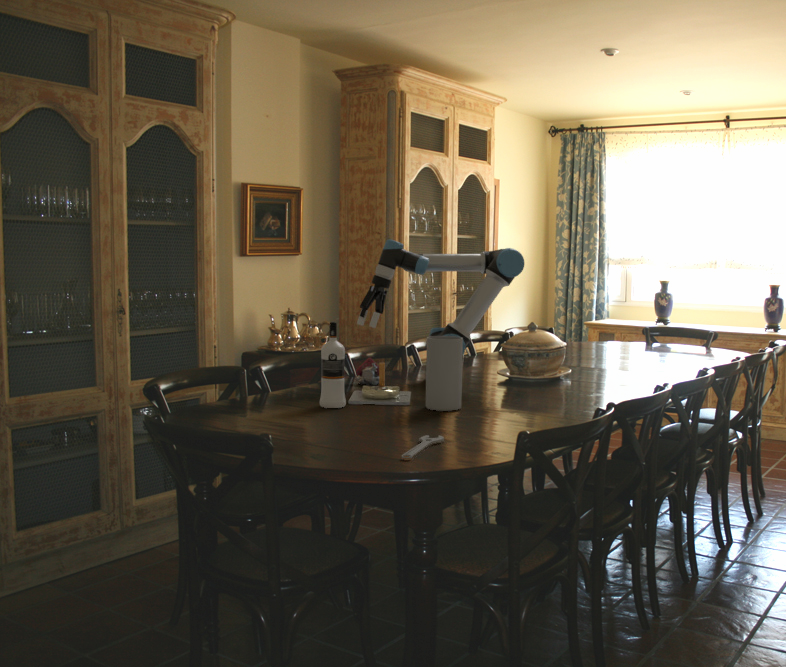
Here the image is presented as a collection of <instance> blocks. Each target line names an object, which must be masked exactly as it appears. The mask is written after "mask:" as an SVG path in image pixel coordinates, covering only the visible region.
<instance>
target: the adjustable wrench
mask: <svg viewBox="0 0 786 667" xmlns="http://www.w3.org/2000/svg"><path fill="white" fill-rule="evenodd" d="M419 441H422V442H421V443H420V442H419ZM441 441H444V442H445V437H444V436H443V435H438V436H437V437H430V435H427V434H426V435H422V436H421V437H419V438H418V442H419V444H417V445H415V446H414V447H412V448H411V449H409V450H408V451H406V452H404V453H403V454H401V459H402V458H412V457H413V456H414V455H416V454H417V453H418V452H420V451H421V450H423V449H424V448H425V447H427V446H428V445H430V444H432V443H436V442H441ZM404 456H409V457H404Z"/></svg>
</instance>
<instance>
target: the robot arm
mask: <svg viewBox="0 0 786 667" xmlns="http://www.w3.org/2000/svg"><path fill="white" fill-rule="evenodd" d="M397 268H400V269H403V270H404V271H405V272H411V273H414V274H416V275H420V276H424V274H426V272H480V273H481V274H482V275H483V274H485V276H484V277H483V280H482V281H481V282H480V283H479V285H478V286H477V288H476V289H475V291H474V292H473V294H472V295H471V296H470V297H469V299H468V301H467V302H466V303H465V305H464V306H463V308H462V309H461V311H460V312H459V314H458V315H457V317H456V318H455V319H454V320H453V322H449V323H447V324H446V326H445V327H432V328H431V329H430V332H429V337H430V336H454V337H461V338H463V350H462V357H463V355H465V352H466V347H467V346H468V344H469V343H470V342H471V340H472V339H471V333H472V332H473V331H474V330H475V328H476V327H477V325H478V324H479V322H480V321H481V319H482V318H483V316H484V315H485V314H486V312H487V311H488V310H489V308H490V306H491V305H492V304H493V303H494V301H495V300H496V299H497V297H498V295H499V294H500V293H501V291H502V290H503V289H504V287H508V286H511V283H512V282H513V280H515V278H516V277H518V276H519V275H520V274H521V273H522V272H523V270H524V268H525V258H524V256H523V254H522V253H521V252H520V251H519V250H518V249H515V248H511V247H506V248H500V249H494V250H488V251H487V250H486V251H481V252H480V253H415V252H412V251H409V250H406V249H404V244H403V243H401V242H400V241H396V240H394V239H386V241H385V243H384V246H383V248H382V251H381V253H380V257H379V260H378V263H377V266H376V267H375V271H374V273H375V274H373V277H372V279H371V284H373V285H370V287H369V289H368V291H367V293H366V294H365V296H364V298H363V300H362V301H361V303H360V305H359V308H360V313H359V315H358V319H357V322H356V324H357V325H358V326H362V327H363V326H364V324H365V322H366V319H367V316H368V313H369V308H370V307H371V306H372V305H373V303H374V302H375V306H374V308H375V311H373V313H372V316H371V319H370V323H369V325H368V327H370V328H373V329H376V327H377V324H378V321H379V319H380V316H381V315H383V314H384V311H385V304H386V296H387V293H388V290H386V289H389V288H390V286H391V283H392V279H393V278H394V275H395V272H396V269H397ZM424 380H425V381H426V374H425V379H424Z"/></svg>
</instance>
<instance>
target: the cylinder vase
mask: <svg viewBox="0 0 786 667" xmlns="http://www.w3.org/2000/svg"><path fill="white" fill-rule="evenodd" d="M462 350H463V338H461V337H454V336H430V335H429V336H427V337H426V359H425V360H426V361H425V362H426V365H425V366H426V368H425V375H426V380H425V407H426V409H427V410H429V409H430V411H433V410H436V411H435V412H443V411H448V412H453V411H452V410H456V411H459V410H461V408H462V396H463V395H462V391H463V390H462V389H463V380H462V379H463V356H462ZM458 409H459V410H458Z"/></svg>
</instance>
